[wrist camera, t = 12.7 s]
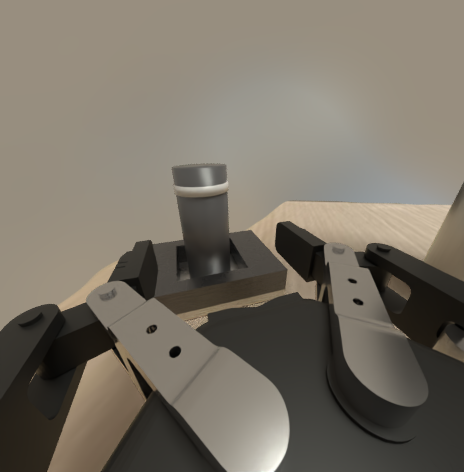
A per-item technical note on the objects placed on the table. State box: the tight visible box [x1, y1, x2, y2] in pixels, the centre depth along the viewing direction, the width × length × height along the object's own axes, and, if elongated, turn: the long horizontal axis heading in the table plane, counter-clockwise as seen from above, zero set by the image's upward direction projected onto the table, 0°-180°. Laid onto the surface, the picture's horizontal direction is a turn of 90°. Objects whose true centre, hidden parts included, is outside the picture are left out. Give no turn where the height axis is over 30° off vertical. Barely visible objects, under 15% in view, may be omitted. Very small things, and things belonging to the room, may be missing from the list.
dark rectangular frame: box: [152, 230, 287, 321], centre depth 21 cm, size 14×10×4 cm
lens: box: [172, 164, 231, 279], centre depth 19 cm, size 5×5×12 cm
